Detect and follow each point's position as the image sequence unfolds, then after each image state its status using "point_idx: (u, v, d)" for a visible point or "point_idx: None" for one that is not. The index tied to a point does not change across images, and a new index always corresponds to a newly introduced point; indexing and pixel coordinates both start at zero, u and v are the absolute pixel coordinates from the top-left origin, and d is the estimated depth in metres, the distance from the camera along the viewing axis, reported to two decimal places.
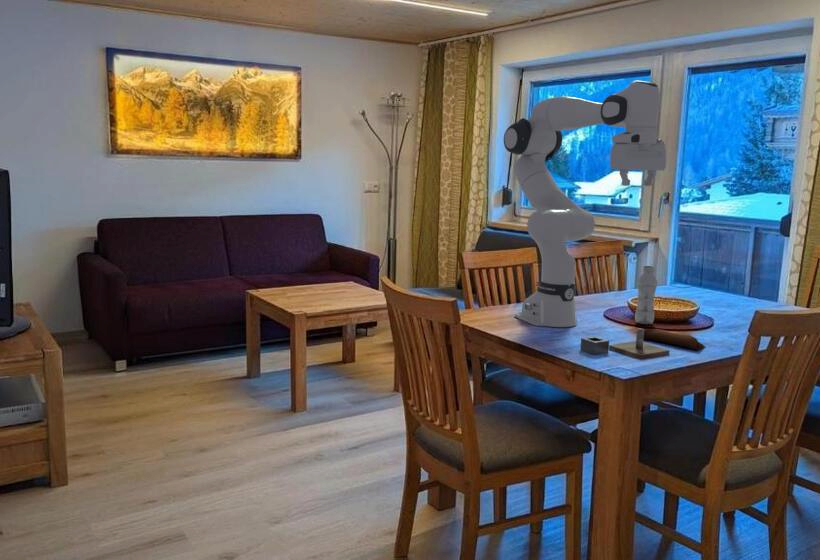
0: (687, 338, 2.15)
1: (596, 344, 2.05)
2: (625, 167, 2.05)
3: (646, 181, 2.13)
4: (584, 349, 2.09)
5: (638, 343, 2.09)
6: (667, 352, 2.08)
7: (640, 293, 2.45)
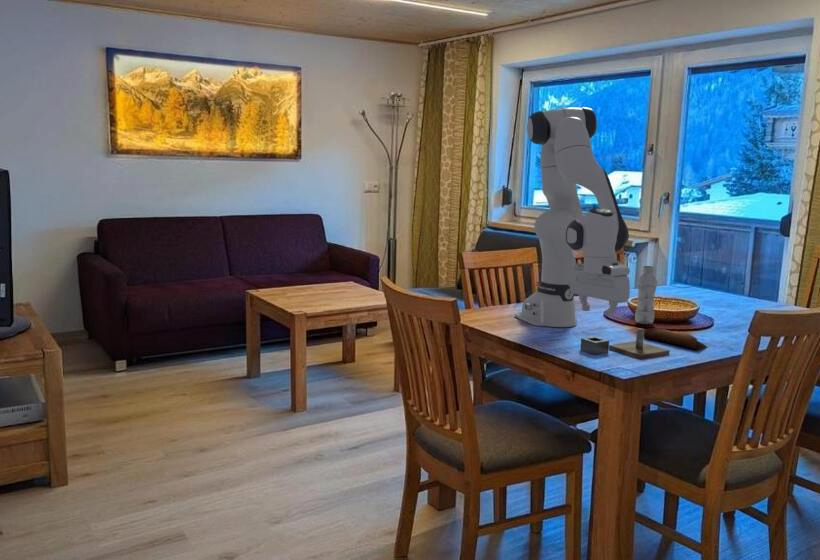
0: (687, 337, 2.16)
1: (596, 344, 2.05)
2: None
3: (587, 306, 2.10)
4: (584, 349, 2.09)
5: (638, 343, 2.09)
6: (667, 352, 2.08)
7: (640, 293, 2.45)
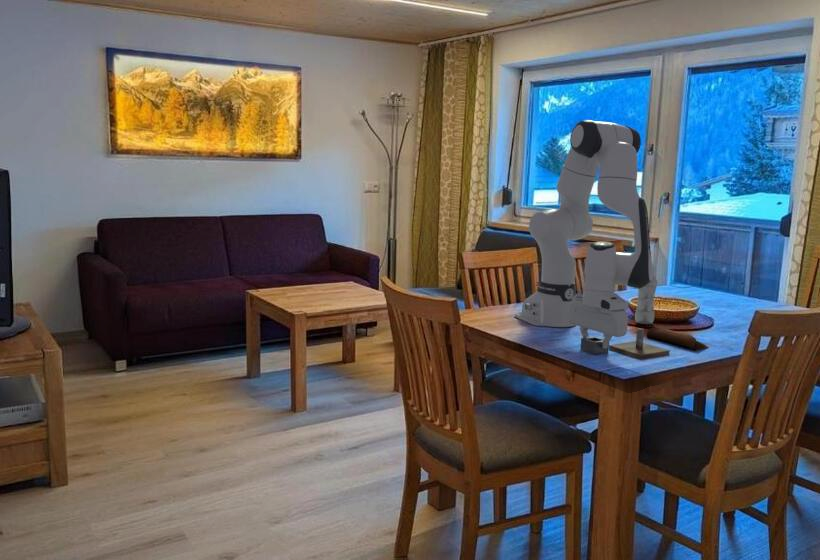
0: (687, 337, 2.16)
1: (596, 344, 2.05)
2: None
3: None
4: (584, 349, 2.09)
5: (638, 343, 2.09)
6: (667, 352, 2.08)
7: (640, 293, 2.45)
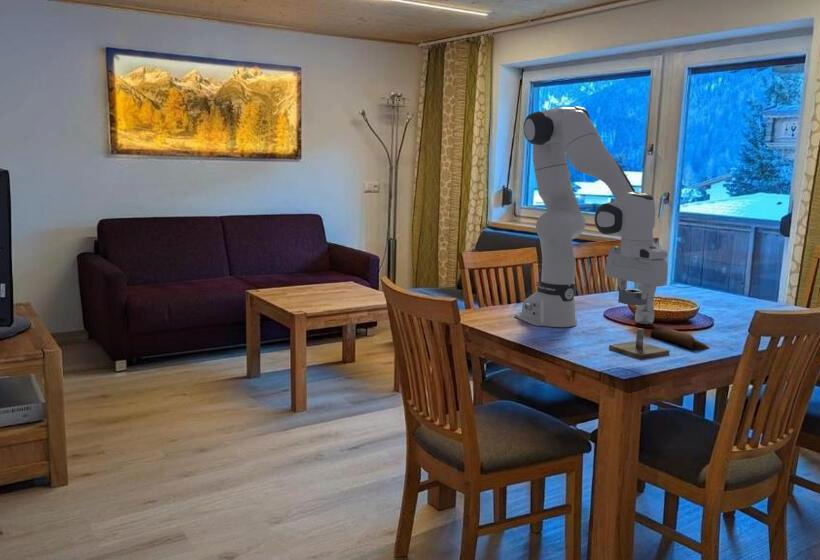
0: (686, 337, 2.16)
1: (635, 295, 2.04)
2: None
3: None
4: (622, 301, 2.07)
5: (638, 343, 2.09)
6: (667, 352, 2.08)
7: None
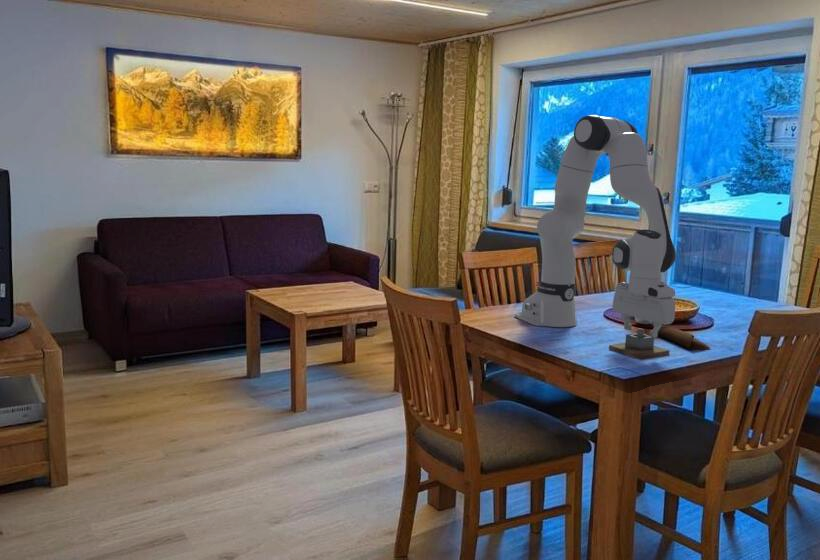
0: (686, 337, 2.17)
1: (642, 340, 2.06)
2: None
3: (629, 325, 2.13)
4: (629, 345, 2.10)
5: None
6: (667, 352, 2.08)
7: None
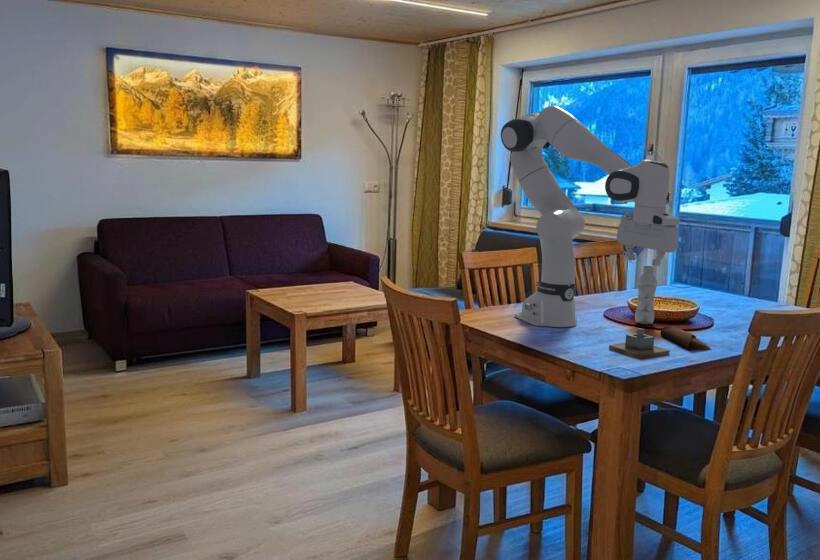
0: (686, 337, 2.17)
1: (642, 340, 2.06)
2: None
3: (633, 256, 2.16)
4: (629, 345, 2.10)
5: None
6: (667, 352, 2.08)
7: (640, 293, 2.45)
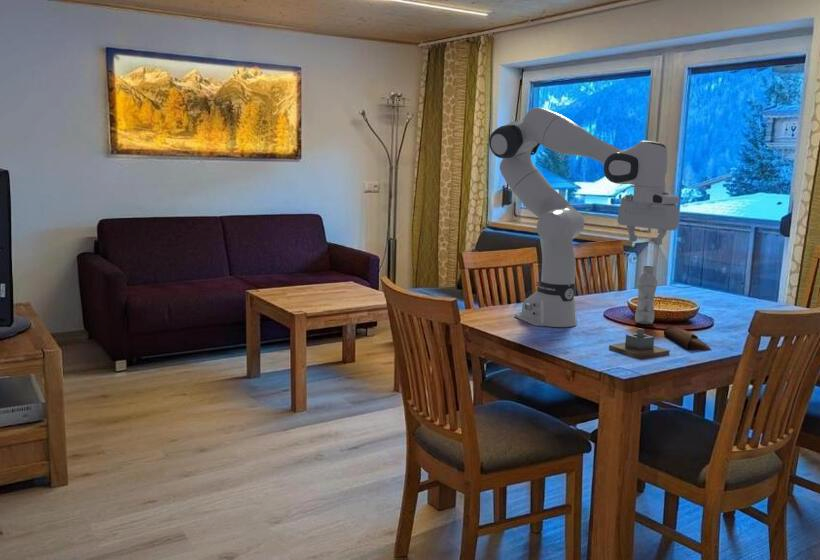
0: (686, 337, 2.17)
1: (642, 340, 2.06)
2: None
3: (634, 237, 2.18)
4: (629, 345, 2.10)
5: None
6: (667, 352, 2.08)
7: (640, 293, 2.45)
